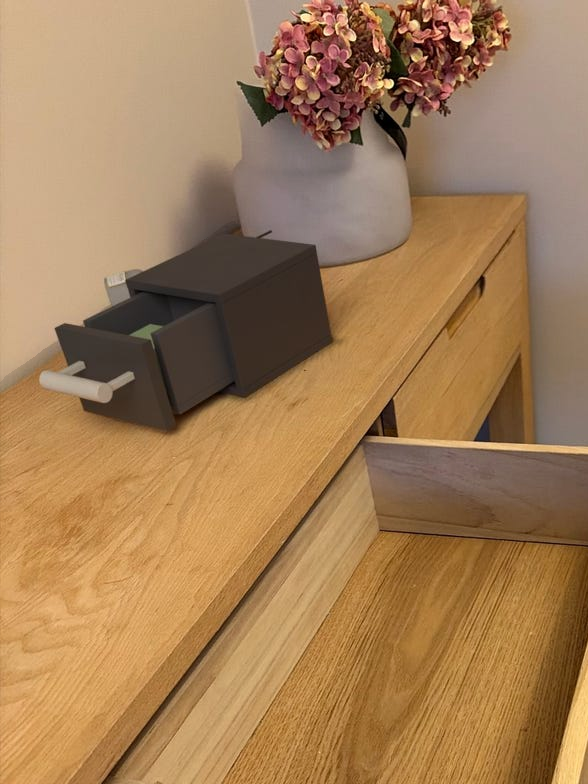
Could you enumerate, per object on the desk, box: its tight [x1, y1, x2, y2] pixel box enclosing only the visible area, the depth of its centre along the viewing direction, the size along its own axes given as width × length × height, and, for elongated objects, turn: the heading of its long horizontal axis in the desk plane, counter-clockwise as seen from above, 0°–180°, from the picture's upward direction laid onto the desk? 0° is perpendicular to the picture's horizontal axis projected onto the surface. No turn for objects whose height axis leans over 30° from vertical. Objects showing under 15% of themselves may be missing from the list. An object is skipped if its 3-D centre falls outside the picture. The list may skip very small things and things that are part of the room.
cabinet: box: [125, 233, 333, 399], centre depth 95 cm, size 14×12×10 cm
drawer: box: [38, 291, 235, 432], centre depth 87 cm, size 17×10×8 cm, turn 150°
